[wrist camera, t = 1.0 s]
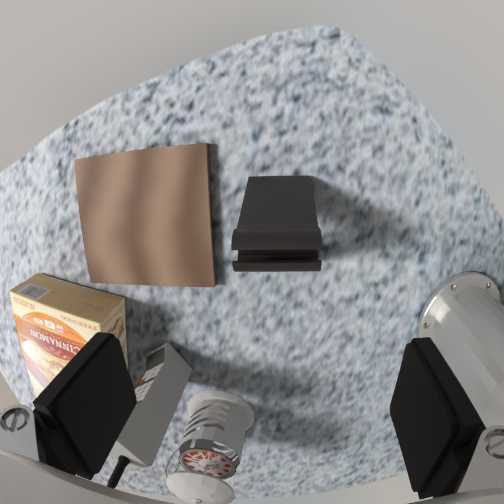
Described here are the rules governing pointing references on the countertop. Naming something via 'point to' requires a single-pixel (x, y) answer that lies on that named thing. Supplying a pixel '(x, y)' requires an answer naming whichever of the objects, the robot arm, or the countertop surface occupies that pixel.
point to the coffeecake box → (61, 323)
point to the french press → (202, 456)
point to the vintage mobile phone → (150, 411)
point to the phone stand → (277, 226)
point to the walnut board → (148, 216)
